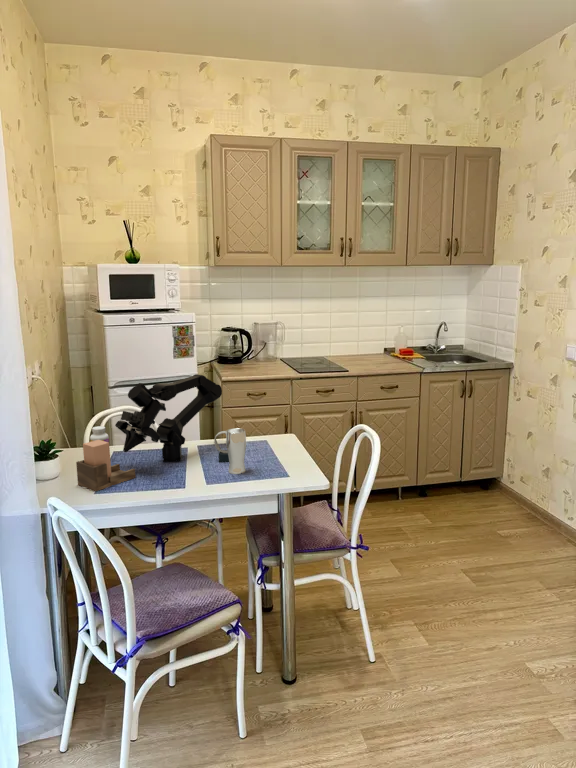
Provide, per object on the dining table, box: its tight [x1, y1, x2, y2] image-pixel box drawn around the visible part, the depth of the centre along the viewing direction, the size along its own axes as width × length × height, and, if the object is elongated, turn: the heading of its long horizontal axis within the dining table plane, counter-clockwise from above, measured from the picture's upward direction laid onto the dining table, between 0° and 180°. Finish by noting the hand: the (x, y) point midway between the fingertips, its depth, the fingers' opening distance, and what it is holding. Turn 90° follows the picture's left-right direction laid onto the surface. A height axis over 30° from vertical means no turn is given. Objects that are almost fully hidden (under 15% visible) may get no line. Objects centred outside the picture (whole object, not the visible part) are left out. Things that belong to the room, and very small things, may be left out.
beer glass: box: [225, 427, 247, 475], centre depth 206 cm, size 7×7×15 cm
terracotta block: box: [82, 440, 112, 481], centre depth 195 cm, size 6×6×13 cm
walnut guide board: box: [75, 459, 137, 492], centre depth 199 cm, size 16×10×8 cm, turn 142°
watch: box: [213, 430, 229, 463], centre depth 219 cm, size 6×8×11 cm
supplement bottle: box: [89, 425, 110, 444], centre depth 220 cm, size 7×7×13 cm
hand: (124, 451), depth 204 cm, fingers closed
